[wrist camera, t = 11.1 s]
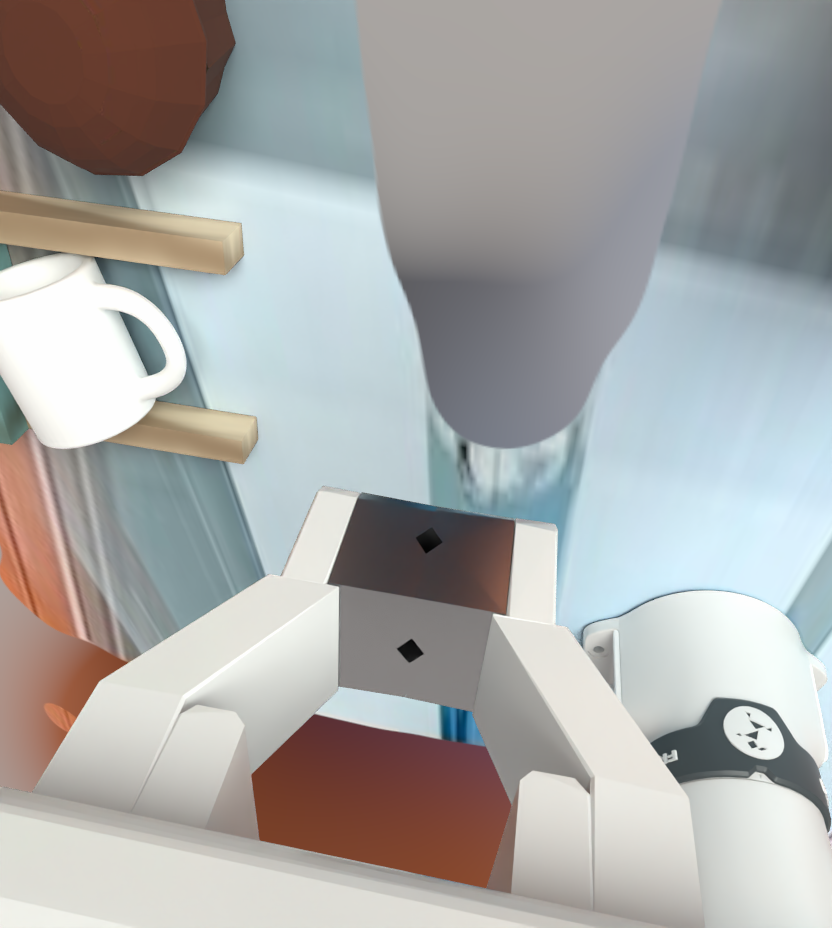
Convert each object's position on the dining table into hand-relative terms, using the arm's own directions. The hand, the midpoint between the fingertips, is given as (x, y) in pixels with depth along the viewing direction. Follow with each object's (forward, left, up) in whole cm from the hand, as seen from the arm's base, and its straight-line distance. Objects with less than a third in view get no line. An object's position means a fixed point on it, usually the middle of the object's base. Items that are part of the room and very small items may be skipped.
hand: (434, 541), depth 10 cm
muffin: (0, +20, -34) cm, 40 cm away
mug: (-18, +25, -35) cm, 46 cm away
